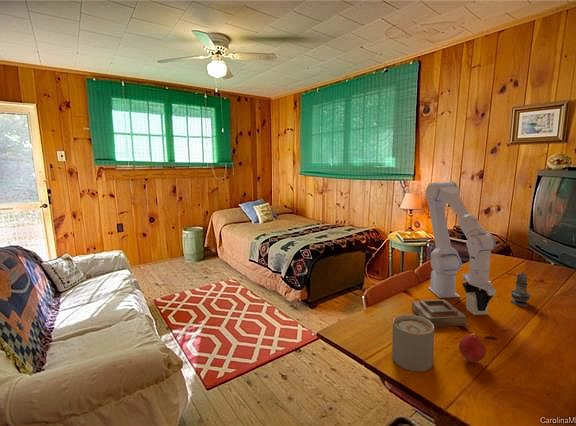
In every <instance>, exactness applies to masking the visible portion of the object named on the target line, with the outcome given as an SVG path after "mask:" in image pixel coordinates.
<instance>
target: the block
mask: <svg viewBox="0 0 576 426" xmlns="http://www.w3.org/2000/svg"><path fill="white" fill-rule="evenodd" d="M488 307H489V304H488V305H487V307H486V310H485V311H479V310H478V308H477V298H476V295H475V292H467V294H466V301H465V309H466V310H467V311H468V312H469V313H471V314H472V315H474V316H476V315H477V316H479V315H482V316H483V315H488V310H489V308H488Z"/></svg>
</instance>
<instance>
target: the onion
mask: <svg viewBox="0 0 576 426" xmlns="http://www.w3.org/2000/svg"><path fill="white" fill-rule="evenodd" d="M458 349H459V351H460V353H461V355H462V356H463V358H465V359H466V360H467V361H468V362H469V363H472V364H473V363H477V362H480V361H481V360H483V359H484V358H485V357H486V354H487V349H486V346H485V344H484V342H483V341H482V339H480V338H479V337H478V336H476V333H471V334H467V335H465V336H464V337H462V339H460V341H459V343H458Z"/></svg>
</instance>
